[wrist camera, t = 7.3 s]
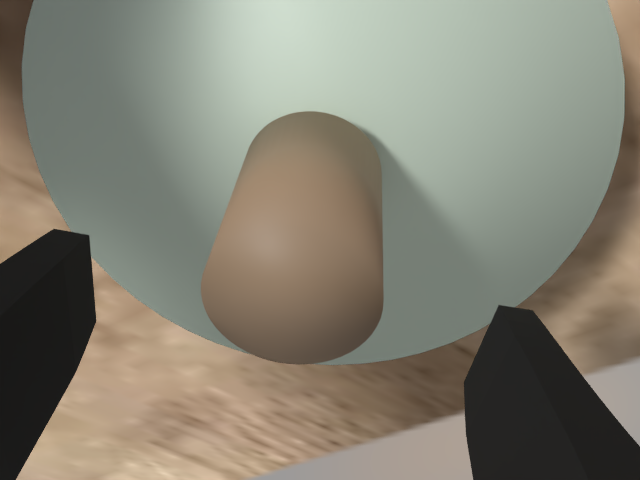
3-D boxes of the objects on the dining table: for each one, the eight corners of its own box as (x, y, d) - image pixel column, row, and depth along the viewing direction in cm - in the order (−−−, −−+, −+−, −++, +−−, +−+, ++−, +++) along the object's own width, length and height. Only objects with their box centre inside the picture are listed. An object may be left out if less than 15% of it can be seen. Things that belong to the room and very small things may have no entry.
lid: (56, 299, 19) (-48, 461, 14) (5, -275, 11) (-272, -331, 6) (489, 380, 20) (524, 561, 15) (746, -102, 12) (996, -34, 7)
